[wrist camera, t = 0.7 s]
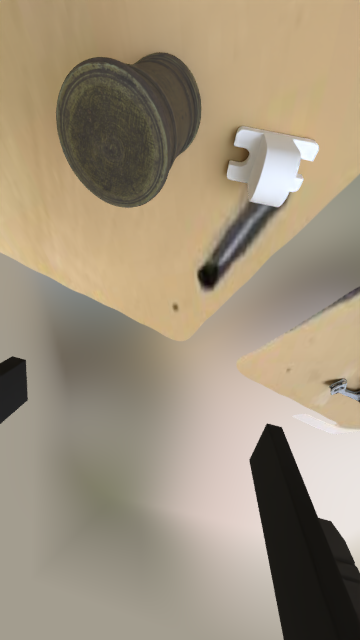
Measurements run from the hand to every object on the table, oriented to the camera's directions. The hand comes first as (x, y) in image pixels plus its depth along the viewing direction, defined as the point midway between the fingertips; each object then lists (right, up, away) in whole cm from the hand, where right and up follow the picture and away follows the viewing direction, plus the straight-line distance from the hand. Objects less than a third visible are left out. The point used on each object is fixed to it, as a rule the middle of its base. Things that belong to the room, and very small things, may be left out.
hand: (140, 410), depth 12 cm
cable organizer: (+14, +26, +17) cm, 34 cm away
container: (0, +31, +15) cm, 35 cm away
